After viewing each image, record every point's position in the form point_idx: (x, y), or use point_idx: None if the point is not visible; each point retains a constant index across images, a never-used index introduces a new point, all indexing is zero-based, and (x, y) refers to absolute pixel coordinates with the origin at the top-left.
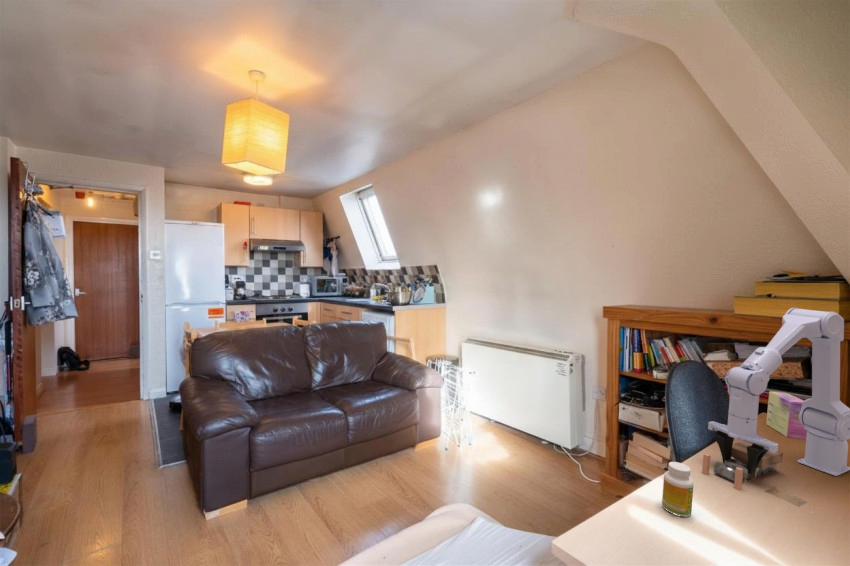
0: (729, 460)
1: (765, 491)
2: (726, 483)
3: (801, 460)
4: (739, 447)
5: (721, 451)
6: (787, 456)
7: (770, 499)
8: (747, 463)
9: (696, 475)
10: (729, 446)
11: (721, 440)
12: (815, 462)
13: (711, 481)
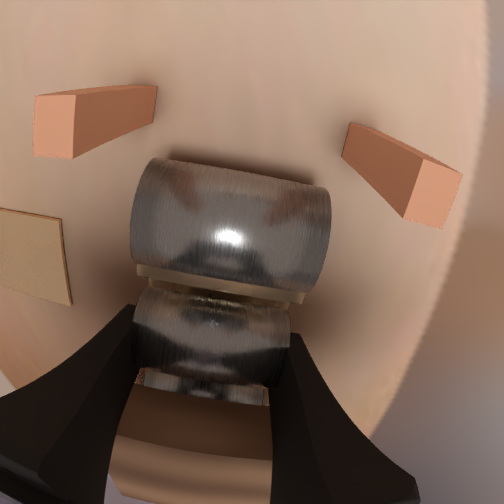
0: (261, 355)
1: (55, 222)
2: (215, 117)
3: None
4: (244, 478)
5: (325, 393)
6: None
7: (18, 159)
8: None
9: (393, 64)
10: (282, 462)
11: (347, 486)
12: None
13: (295, 51)
